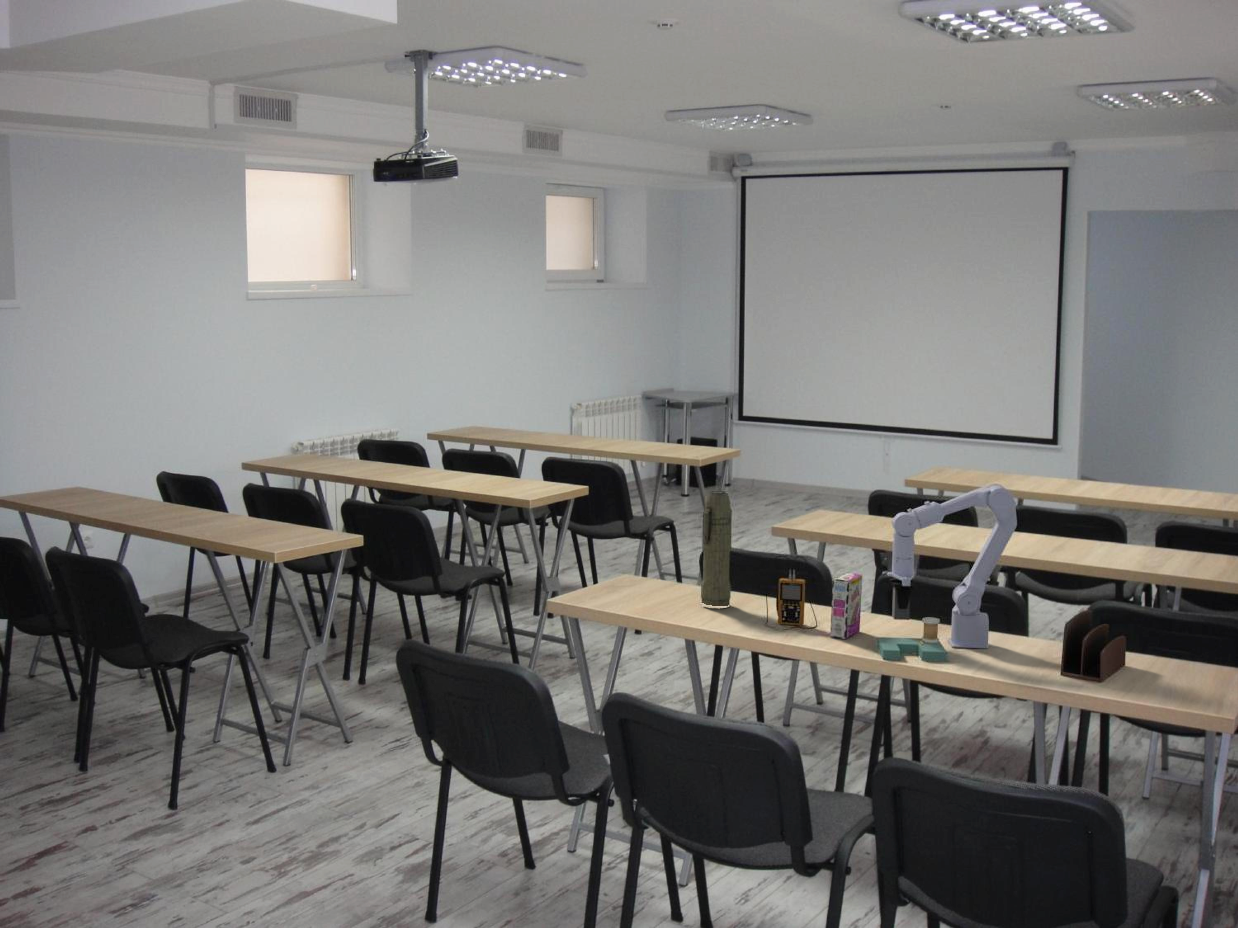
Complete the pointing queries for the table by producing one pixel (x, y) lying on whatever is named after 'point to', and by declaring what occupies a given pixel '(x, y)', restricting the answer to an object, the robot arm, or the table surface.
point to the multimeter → (790, 599)
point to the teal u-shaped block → (915, 644)
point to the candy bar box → (846, 605)
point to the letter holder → (1090, 650)
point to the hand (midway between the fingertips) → (901, 606)
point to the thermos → (716, 549)
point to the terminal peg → (899, 613)
